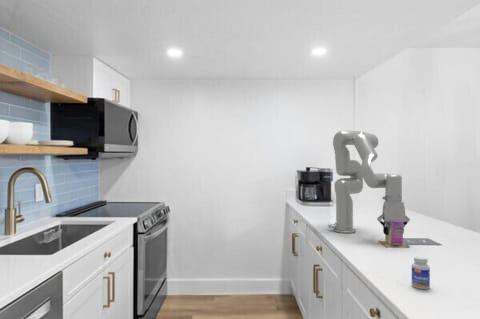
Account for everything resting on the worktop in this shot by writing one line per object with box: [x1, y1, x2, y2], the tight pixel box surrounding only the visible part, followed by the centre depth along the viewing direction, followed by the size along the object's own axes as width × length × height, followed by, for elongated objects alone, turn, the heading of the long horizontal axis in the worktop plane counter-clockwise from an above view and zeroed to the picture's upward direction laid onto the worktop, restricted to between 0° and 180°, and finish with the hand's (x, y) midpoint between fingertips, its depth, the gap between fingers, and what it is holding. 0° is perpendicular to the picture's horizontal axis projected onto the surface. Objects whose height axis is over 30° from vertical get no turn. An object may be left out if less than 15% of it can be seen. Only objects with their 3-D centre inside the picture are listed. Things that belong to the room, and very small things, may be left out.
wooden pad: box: [378, 240, 411, 249], centre depth 172 cm, size 11×11×1 cm
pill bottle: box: [411, 255, 431, 290], centre depth 115 cm, size 5×5×10 cm
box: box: [384, 221, 404, 246], centre depth 172 cm, size 10×6×12 cm, turn 171°
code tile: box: [403, 237, 443, 246], centre depth 178 cm, size 18×14×1 cm
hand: (393, 234), depth 172 cm, fingers open, 6 cm apart
